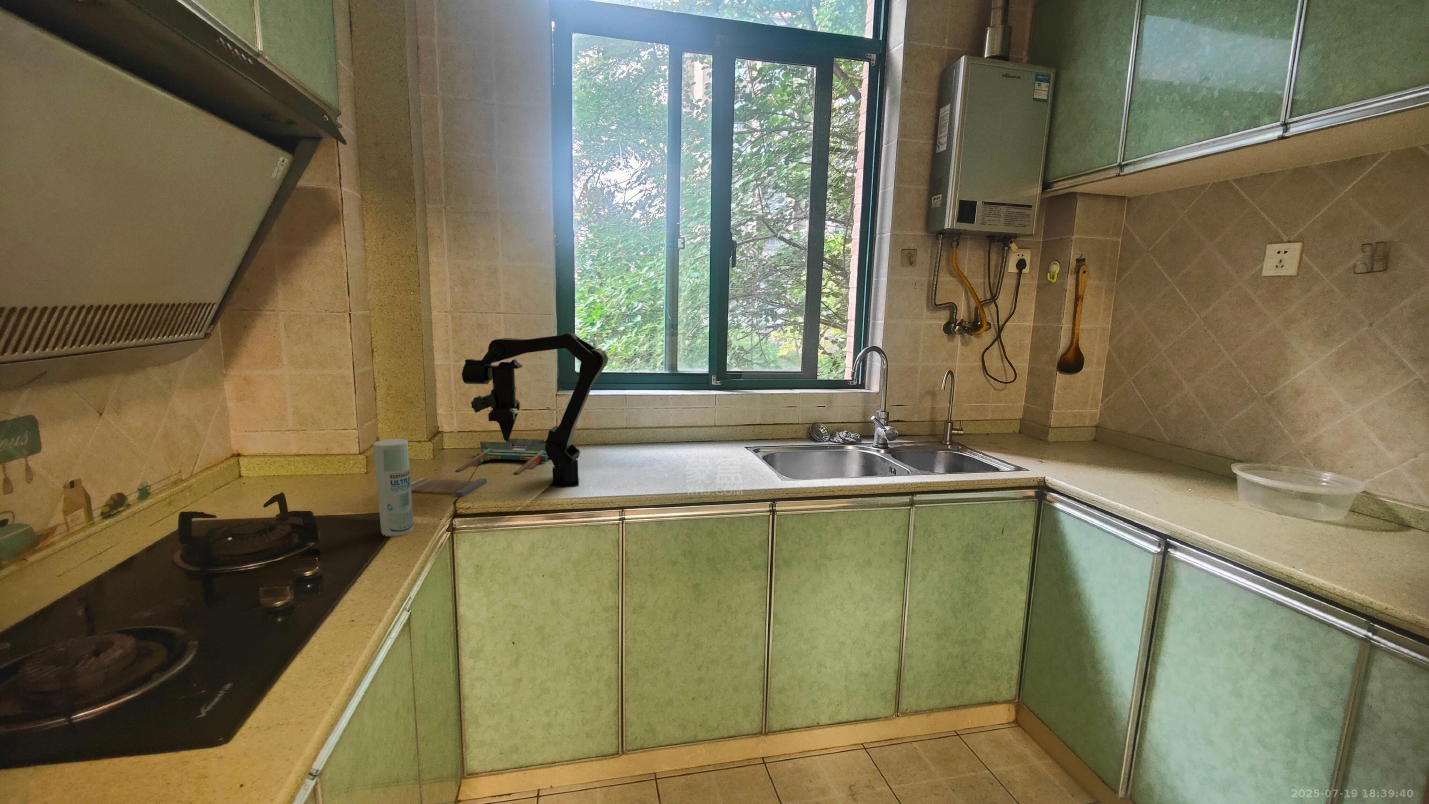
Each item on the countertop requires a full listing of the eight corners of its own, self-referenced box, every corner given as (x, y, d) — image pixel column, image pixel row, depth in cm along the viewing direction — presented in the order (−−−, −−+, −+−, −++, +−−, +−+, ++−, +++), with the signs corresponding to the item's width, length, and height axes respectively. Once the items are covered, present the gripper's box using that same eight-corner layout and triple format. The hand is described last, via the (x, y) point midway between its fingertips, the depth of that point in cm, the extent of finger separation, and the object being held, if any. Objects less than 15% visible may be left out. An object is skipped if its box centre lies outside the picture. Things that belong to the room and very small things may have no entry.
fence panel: (473, 480, 159) (422, 477, 161) (451, 492, 149) (397, 489, 151) (473, 485, 159) (422, 482, 161) (452, 497, 149) (397, 494, 151)
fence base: (487, 485, 160) (486, 478, 159) (463, 500, 148) (462, 492, 147) (480, 485, 160) (479, 478, 159) (455, 499, 148) (455, 492, 148)
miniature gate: (441, 464, 169) (490, 434, 198) (443, 482, 170) (491, 450, 199) (531, 468, 166) (567, 437, 196) (532, 486, 168) (568, 452, 197)
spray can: (392, 539, 124) (384, 447, 120) (374, 532, 127) (366, 443, 124) (420, 529, 129) (414, 440, 126) (402, 523, 132) (396, 437, 129)
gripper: (478, 380, 167) (481, 434, 169) (465, 390, 149) (469, 449, 151) (519, 380, 169) (521, 432, 172) (511, 389, 151) (514, 448, 154)
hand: (506, 440), depth 162 cm, fingers closed
